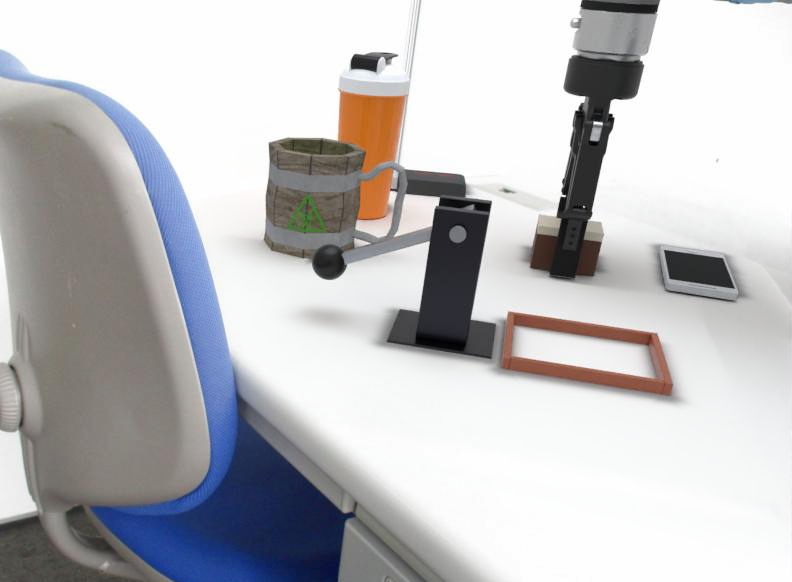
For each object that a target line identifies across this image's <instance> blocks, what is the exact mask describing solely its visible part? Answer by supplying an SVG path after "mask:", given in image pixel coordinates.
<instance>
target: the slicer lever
mask: <svg viewBox="0 0 792 582" xmlns="http://www.w3.org/2000/svg"><path fill="white" fill-rule="evenodd" d="M460 209H468V210H476V208H475V205H474V204H473V205H469V206H466V207H463V208H460ZM431 230H432V225H431V226H426V227H424V228H421V229H417V230H413V231H410V232H406V233H403V234H400V235H397V236H396V235H395V236H394V237H392V238H389V239H385V240H382V241H378V242H375V243H368V244H365V245H361V246H357V247H354V249H350V250H347V251H343V250H342V249H341V248H340V247H338V246H336V245H332V244H328V245H324V246H321V247H320V248H319V249H317V250H316V252H315V253H314V255H313V258H311V266H312V270H313V272H314V273H315V275H316V276H317V277H319V278H320V279H322V280H325V281H333V280H337V279H338V278H340V277H342V276H343V275H344V273H345V272H346V270H347V267H348V265H350V264H353V263H356V262H360V261H363V260H367V259H371V258H374V257H378V256H381V255H386V254H388V253H393V252H396V251H399V250H403V249H408V248H410V247H415V246H418V245H421V244H424V243H430V237H431Z"/></svg>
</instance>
